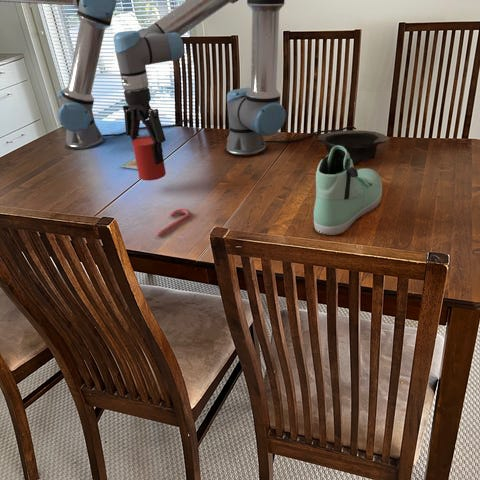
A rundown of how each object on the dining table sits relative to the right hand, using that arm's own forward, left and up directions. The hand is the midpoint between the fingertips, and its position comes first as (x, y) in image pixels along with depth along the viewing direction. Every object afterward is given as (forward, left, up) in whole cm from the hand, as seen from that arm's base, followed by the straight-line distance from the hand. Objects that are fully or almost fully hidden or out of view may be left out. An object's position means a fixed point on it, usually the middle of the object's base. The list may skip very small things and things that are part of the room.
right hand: (149, 160), depth 153 cm
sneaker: (-45, +44, -11) cm, 64 cm away
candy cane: (+2, +26, -11) cm, 28 cm away
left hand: (+45, -56, +19) cm, 75 cm away
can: (0, 0, -5) cm, 5 cm away
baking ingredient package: (-3, -28, -11) cm, 30 cm away
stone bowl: (-69, +13, -11) cm, 71 cm away
